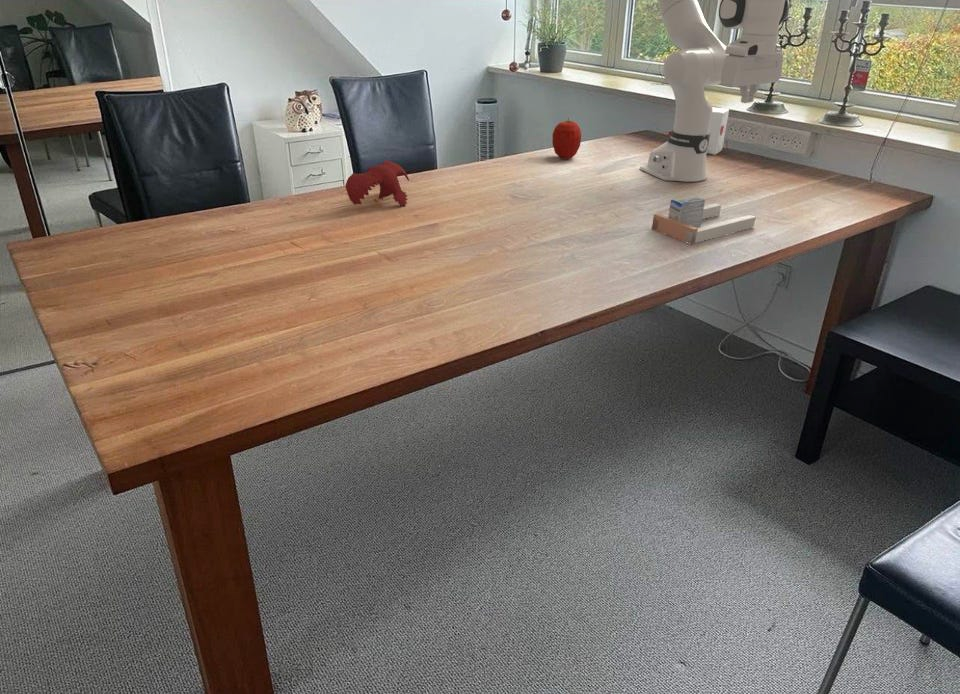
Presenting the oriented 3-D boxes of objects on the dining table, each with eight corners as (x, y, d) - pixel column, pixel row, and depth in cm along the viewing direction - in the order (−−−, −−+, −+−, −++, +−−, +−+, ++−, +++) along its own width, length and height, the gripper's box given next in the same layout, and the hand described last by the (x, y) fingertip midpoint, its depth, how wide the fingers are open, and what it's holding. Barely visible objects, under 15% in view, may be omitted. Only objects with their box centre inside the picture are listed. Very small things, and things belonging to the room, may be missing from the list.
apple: (551, 154, 253) (554, 114, 247) (579, 155, 252) (583, 115, 245) (550, 161, 244) (552, 120, 238) (579, 162, 243) (582, 121, 237)
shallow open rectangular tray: (651, 228, 185) (653, 214, 183) (713, 213, 196) (716, 199, 194) (690, 244, 175) (693, 229, 173) (753, 227, 187) (756, 213, 185)
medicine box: (687, 226, 187) (693, 194, 183) (700, 231, 183) (705, 199, 179) (665, 231, 183) (670, 199, 179) (677, 236, 180) (682, 203, 176)
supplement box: (715, 155, 255) (722, 112, 248) (691, 151, 260) (697, 109, 252) (722, 150, 262) (730, 108, 255) (699, 146, 266) (705, 105, 259)
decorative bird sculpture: (416, 205, 214) (386, 164, 212) (435, 187, 208) (405, 146, 207) (363, 233, 192) (329, 188, 190) (383, 215, 186) (348, 168, 184)
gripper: (772, 43, 187) (762, 97, 194) (721, 46, 177) (711, 103, 184) (793, 45, 183) (781, 100, 189) (741, 49, 173) (731, 107, 179)
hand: (746, 102), depth 187 cm, fingers closed
